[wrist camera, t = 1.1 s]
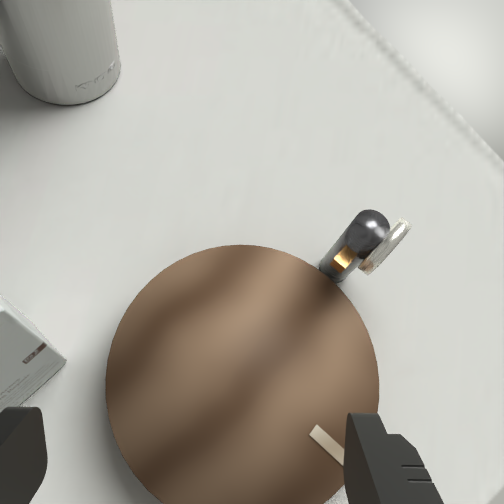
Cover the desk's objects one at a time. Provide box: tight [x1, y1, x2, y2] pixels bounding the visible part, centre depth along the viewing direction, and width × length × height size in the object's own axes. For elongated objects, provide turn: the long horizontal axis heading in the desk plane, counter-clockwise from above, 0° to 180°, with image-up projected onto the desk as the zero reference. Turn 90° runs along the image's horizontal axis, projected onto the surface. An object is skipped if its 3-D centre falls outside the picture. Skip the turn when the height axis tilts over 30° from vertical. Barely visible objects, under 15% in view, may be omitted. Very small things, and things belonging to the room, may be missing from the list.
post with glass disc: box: [320, 210, 412, 282], centre depth 32 cm, size 5×3×9 cm, turn 139°
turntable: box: [106, 245, 379, 504], centre depth 30 cm, size 18×18×2 cm
